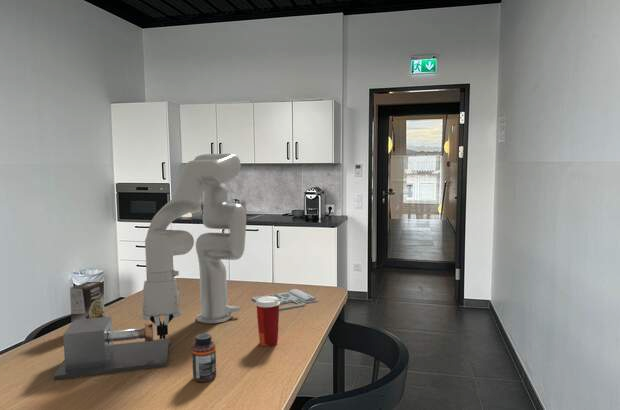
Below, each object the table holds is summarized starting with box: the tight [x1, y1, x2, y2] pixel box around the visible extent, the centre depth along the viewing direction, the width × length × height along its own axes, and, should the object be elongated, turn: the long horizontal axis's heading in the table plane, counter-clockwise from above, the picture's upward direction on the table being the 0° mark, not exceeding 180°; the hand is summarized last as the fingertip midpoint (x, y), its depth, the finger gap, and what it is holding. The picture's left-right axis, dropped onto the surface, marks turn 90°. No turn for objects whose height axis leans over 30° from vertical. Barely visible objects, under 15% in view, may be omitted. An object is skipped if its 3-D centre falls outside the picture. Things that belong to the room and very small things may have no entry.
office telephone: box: [251, 288, 319, 312], centre depth 181 cm, size 23×3×20 cm
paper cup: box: [254, 296, 281, 347], centre depth 136 cm, size 8×8×14 cm
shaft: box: [107, 322, 154, 343], centre depth 126 cm, size 22×5×5 cm, turn 105°
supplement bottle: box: [191, 333, 217, 383], centre depth 114 cm, size 6×6×11 cm
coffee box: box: [69, 281, 106, 323], centre depth 149 cm, size 9×6×16 cm
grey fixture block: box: [53, 316, 170, 381], centre depth 126 cm, size 28×18×11 cm, turn 105°
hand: (162, 337), depth 129 cm, fingers closed
